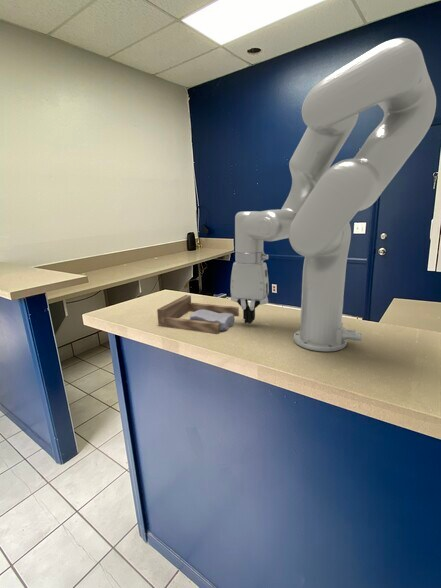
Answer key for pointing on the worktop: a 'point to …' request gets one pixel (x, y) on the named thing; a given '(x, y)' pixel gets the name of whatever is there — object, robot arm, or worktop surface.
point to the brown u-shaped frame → (179, 307)
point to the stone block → (214, 318)
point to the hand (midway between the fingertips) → (249, 321)
